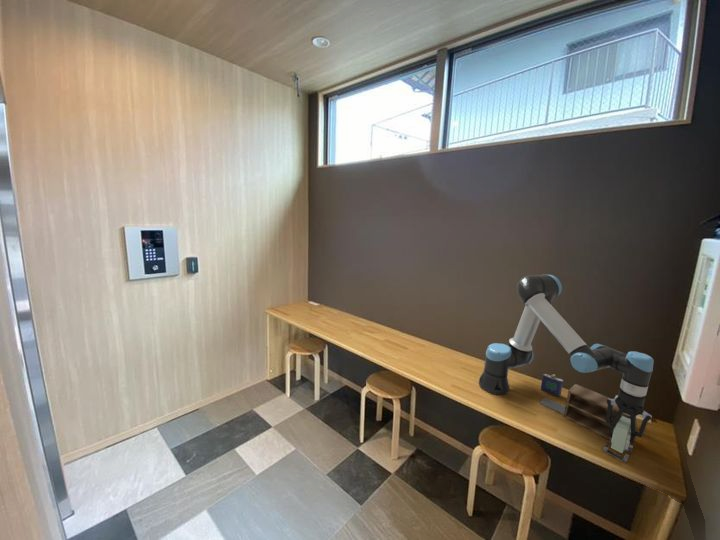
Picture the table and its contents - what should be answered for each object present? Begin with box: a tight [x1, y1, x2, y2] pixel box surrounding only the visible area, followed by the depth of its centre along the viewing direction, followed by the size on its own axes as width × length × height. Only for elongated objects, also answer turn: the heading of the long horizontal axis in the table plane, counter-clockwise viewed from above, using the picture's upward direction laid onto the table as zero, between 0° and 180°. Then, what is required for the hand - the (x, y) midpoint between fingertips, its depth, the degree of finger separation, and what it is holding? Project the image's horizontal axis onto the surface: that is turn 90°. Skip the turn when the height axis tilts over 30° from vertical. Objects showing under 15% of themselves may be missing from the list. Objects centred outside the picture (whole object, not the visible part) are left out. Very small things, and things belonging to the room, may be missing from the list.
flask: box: [540, 373, 564, 397], centre depth 157 cm, size 9×3×11 cm, turn 51°
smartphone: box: [539, 397, 566, 416], centre depth 145 cm, size 8×1×15 cm
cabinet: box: [563, 383, 630, 440], centre depth 132 cm, size 22×9×14 cm, turn 38°
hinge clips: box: [603, 436, 634, 464], centre depth 119 cm, size 7×10×2 cm
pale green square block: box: [610, 416, 631, 454], centre depth 117 cm, size 4×10×10 cm, turn 128°
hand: (619, 444), depth 118 cm, fingers closed on pale green square block, 3 cm apart
